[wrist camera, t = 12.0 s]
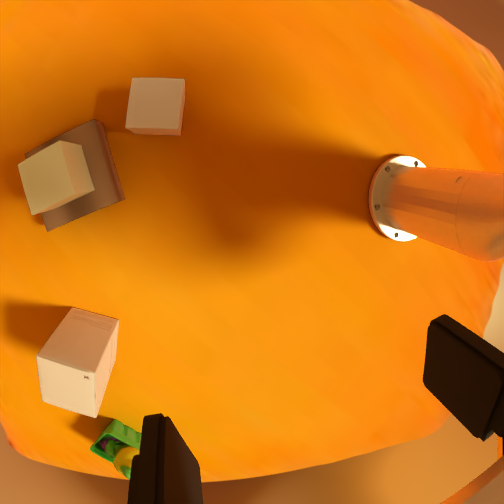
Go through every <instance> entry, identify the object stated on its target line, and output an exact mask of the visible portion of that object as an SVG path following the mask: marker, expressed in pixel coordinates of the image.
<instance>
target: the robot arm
mask: <svg viewBox="0 0 504 504" xmlns="http://www.w3.org/2000/svg"><path fill="white" fill-rule="evenodd" d="M369 210H370V213H371V217H372V219H373V221H374V224H375V225H376V227H377V228H378V230H379V231H380V232H381V233H382V234H384V235H385V236H387V237H388V238H390V239H393V240H396V241H409V240H411V239H414V238H416V237H419V238H422V239H425V240H427V241H430V242H433V243H435V244H438V245H441V246H443V247H446V248H449V249H451V250H454V251H456V252H459V253H462V254H464V255H467V256H469V257H472V258H475V259H477V260H481V261H486V262H489V261H496V260H499V259H501V258H503V257H504V174H500V173H490V172H480V171H470V170H459V169H446V168H432V167H426V166H425V165H424V164H423V163H422V162H421V161H419V160H418V159H416V158H414V157H411V156H407V155H400V156H394V157H392V158H389V159H388V160H386V161H385V162H384V163H382V164H381V166H380V167H379V168H378V169H377V171H376V172H375V174H374V176H373V179H372V181H371V184H370V189H369ZM423 383H424V385H425V387H426V388H427V389H428V390H429V391H430V392H431V393H432V394H433V395H434V396H435V397H436V398H437V399H438V400H439V401H440V402H441V403H442V404H443V405H444V406H445V407H446V408H447V409H448V410H449V411H450V412H451V413H452V414H453V415H454V416H455V417H456V418H457V419H458V420H459V421H460V422H461V423H462V424H463V425H464V426H465V427H466V428H467V429H468V430H469V431H470V432H471V433H472V435H473V436H475V437H476V438H480V439H481V440H482V441H485V440H486V439H487V438H489V437H490V436H491V435H492V434H493V433H494V432H495V433H496V434H497V435H498V458H497V462H495V463H494V464H493V465H492V466H491V467H489V468H488V469H487V470H486V471H484V472H483V473H482V474H481V475H479V476H478V477H477V478H476V479H474V480H473V481H472V482H471V483H469V484H468V485H466V486H465V487H464V488H462V489H461V490H459V491H458V492H457V493H455V494H454V495H453V496H451V497H449V498H448V499H446V500H445V501H443V502H442V503H440V504H504V353H503V352H501V351H500V350H498V349H497V348H495V347H494V346H493V345H491V344H490V343H488V342H487V341H485V340H484V339H482V338H481V337H479V336H478V335H476V334H475V333H473V332H472V331H470V330H469V329H467V328H466V327H464V326H463V325H461V324H460V323H458V322H457V321H455V320H454V319H452V318H451V317H449V316H448V315H445V314H443V315H441V316H439V317H437V318H436V319H434V320H432V321H431V322H430V326H429V327H428V332H427V345H426V356H425V366H424V374H423ZM128 504H203V498H202V487H201V476H200V467H199V464H198V461H197V460H196V458H195V457H194V455H193V454H192V452H191V451H190V449H189V448H188V446H187V445H186V443H185V442H184V440H183V438H182V437H181V435H180V434H179V432H178V431H177V429H176V427H175V426H174V424H173V422H172V421H171V419H170V418H169V417H168V416H167V417H164V416H163V414H161V413H159V414H154V415H148V416H145V417H144V419H143V426H142V434H141V442H140V451H139V454H137V455H134V457H133V459H132V465H131V473H130V483H129V493H128Z"/></svg>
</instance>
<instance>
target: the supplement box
mask: <svg viewBox="0 0 504 504" xmlns="http://www.w3.org/2000/svg"><path fill="white" fill-rule="evenodd" d="M118 326H119V320H118V319H114V318H111V317H107V316H103V315H100V314H96V313H92V312H89V311H85V310H81V309H78V308H74V307H72V308H71V309H70V311H69V312H68V313H67V315H66V316H65V317H64V319H63V320H62V321H61V323H60V324H59V325H58V327H57V328H56V329H55V331H54V332H53V333H52V335H51V336H50V337H49V339H48V340H47V342H46V343H45V344H44V346H43V347H42V349H41V350H40V351H39V353H38V354H37V356H36V358H37V367H38V375H39V382H40V389H41V396H42V401H43V402H46V403H49V404H52V405H54V406H57V407H60V408H63V409H66V410H70V411H73V412H76V413H80V414H83V415H86V416H90V417H93V418H96V417H97V414H98V411H99V408H100V405H101V402H102V399H103V396H104V392H105V389H106V386H107V383H108V380H109V377H110V374H111V371H112V368H113V366H114V363H115V359H116V349H117V337H118Z"/></svg>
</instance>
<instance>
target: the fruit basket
mask: <svg viewBox="0 0 504 504" xmlns="http://www.w3.org/2000/svg"><path fill="white" fill-rule="evenodd" d="M140 442H141V433H138V432H136V431H135V430H133V429H132V428H130V427H128V426H126V425H124V424H123V423H121V422H120V421H118V420H116V419H114V420H113V422H112V423H110V424H109V425H108V426H107V427H106V429H105V430H103V431H102V433H101V434H100V436H99V437H98V439H97V440H96V442H95V443H94V444H93V445H92V446H91V448H90V450H91V451H92V452H93V453H95V454H97V455H99V456H100V457H102V458H104V459H106V460H108V461H110V462H112V463H114V466H115V468H116V470H117V471H118V472H120V473H121V474H123V475H124V476H125V477H126V478H128V479H130V473H131V465H132V459H133V457H134V455H137V454H139V451H140Z"/></svg>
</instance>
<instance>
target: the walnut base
mask: <svg viewBox="0 0 504 504" xmlns="http://www.w3.org/2000/svg"><path fill="white" fill-rule="evenodd" d="M58 141H65V142H69V143H74V144H78V145H81V146H82V150H83V153H84V157H85V160H86V164H87V167H88V170H89V173H90V177H91V180H92V183H93V186H94V189H95V190H94V191H92V192H90V193H87V194H85V195H83V196H81V197H79V198H77V199H74V200H72V201H70V202H68V203H66V204H64V205H62V206H60V207H58V208H55V209H52V210H48V211H45V212H42V213H41V215H42V218H43V221H44V224H45V227H46V230H47V232H48V231H50V230H53V229H55V228H57V227H59V226H61V225H64V224H66V223H68V222H71V221H73V220H75V219H78V218H80V217H82V216H85V215H87V214H89V213H92V212H94V211H97V210H99V209H102V208H104V207H107V206H109V205H112V204H114V203H117V202H119V201H122V200H124V199H125V197H124V194H123V191H122V188H121V184H120V181H119V178H118V175H117V172H116V168H115V165H114V161H113V158H112V154H111V151H110V147H109V144H108V140H107V136H106V133H105V129H104V125H103V123H101V122H99V121H97V120H95V119H93V120H91V121H89V122H86V123H84V124H82V125H80V126H78V127H76V128H74V129H72V130H69V131H67V132H65V133H63V134H61V135H59V136H57V137H55V138H54V139H52V140H50V141H48V142H46V143H44V144H42V145H40V146H39V147H37V148H35V149H33V150H31V151H30V152H28V153H26V154H25V158H26V159H27V158H29V157H31V156H33V155H34V154H36V153H38V152H39V151H41V150H43V149H45V148H47V147H48V146H50V145H52V144H54V143H56V142H58Z"/></svg>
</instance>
